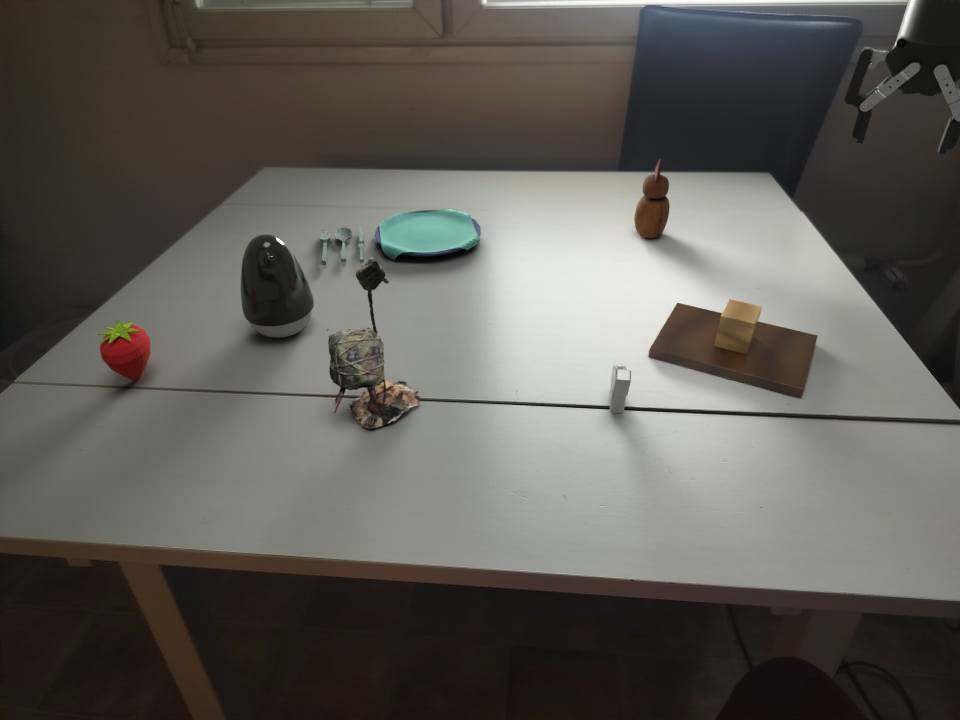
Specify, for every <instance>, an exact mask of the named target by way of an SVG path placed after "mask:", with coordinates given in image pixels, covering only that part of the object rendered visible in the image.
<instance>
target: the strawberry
mask: <svg viewBox="0 0 960 720" xmlns="http://www.w3.org/2000/svg"><path fill="white" fill-rule="evenodd" d="M134 323H135V321H130V322H128V323H125V324H123V323H122V322H121V317H119V318H118V319H117V321H116V322H115V325H114V326H111V327H105V329H106V331H103V332H99V333H98V334H97V335H98V336H104V337H103V338H102V340H101V341H99V343H100V345H99V351H100V357H101V359H102V361H103V362H104V363H105V365H107V366H108V368H109V370H111V371H113V372H115V373H116V374H118V375H120V377H123V378H126V379H129V380H131V381H133V382H138V381H139V380H141V378H142V377H143V373H144V372H145V369H146V367H147V365H148V362H149V360H150V356H151V338H150V336H149V335H148V333H147V331H146V330H145V329H144V328H143V327H140V326H138V325H135V324H134Z"/></svg>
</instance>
